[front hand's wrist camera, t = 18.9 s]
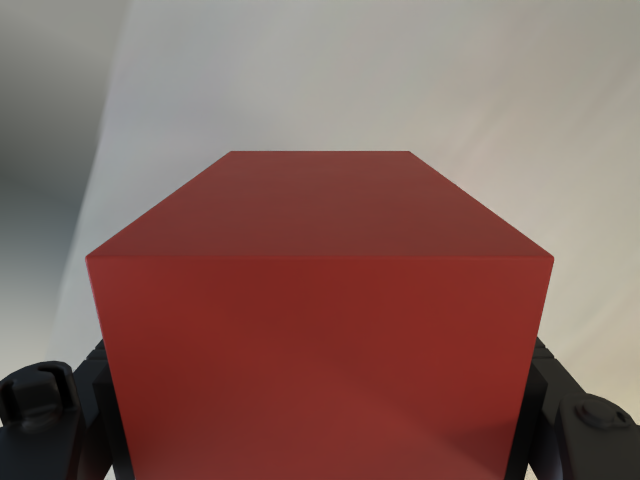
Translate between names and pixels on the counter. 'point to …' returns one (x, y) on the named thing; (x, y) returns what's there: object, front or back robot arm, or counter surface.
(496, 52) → the counter surface
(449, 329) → the brick
